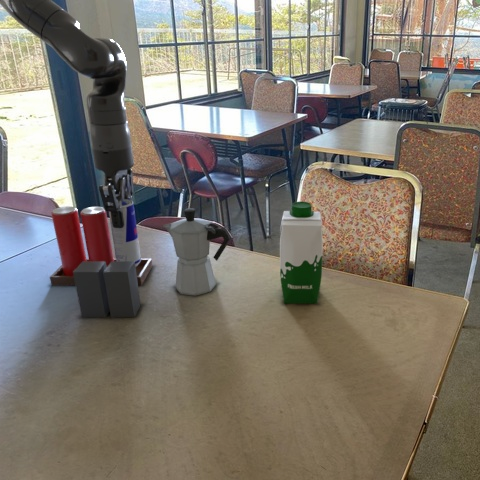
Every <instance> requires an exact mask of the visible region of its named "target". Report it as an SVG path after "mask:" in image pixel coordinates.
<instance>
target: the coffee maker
mask: <svg viewBox="0 0 480 480" xmlns="http://www.w3.org/2000/svg"><path fill="white" fill-rule="evenodd" d="M183 212H184V215H185V218H182V219H180V220H177V221H174V222H171V223H167V224H166V223H165V224H163V225H162V227H164V228H165V229H166V231H167V232H168V234H169V235H170V237H171V238H172V242H173V248H174V251H175V255H176V257H177V258H178V259H177V263H176V274H175V275H176V277H175V285H174V286H175V287H174V288H175V289H176V290H177V291H178V293H179V294H180V295H186V296H187V295H188V296H193V297H196V296H200V295H203V294H206V293H211V291H212V290H213V289H214V288H215V287H216V285H217V281H216V277H215V274H214V270H213V265H212V263H211V258H210V256H209V255H210V247H211V241H212V240H215V239H219V238H222V239H223V241H222V243H221V245H219V247H218V249H217V251H216V253H215V254H214V256H213V259H214V260H215V261H218V260H219V259H220V257H221V256H222V254H223V252H224V251H225V249H226V247H227V246H228V244H229V243H230V241H231V239H232V238H231V235H230V233H229V232H228V230H227V229H226V228H224V227H220V225H218V224H217V223H216V222H211V221H210V220H207V219H203V218H200V217H196V218H195V214H196V208H193V207H188V208H185V209H184V210H183Z"/></svg>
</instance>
